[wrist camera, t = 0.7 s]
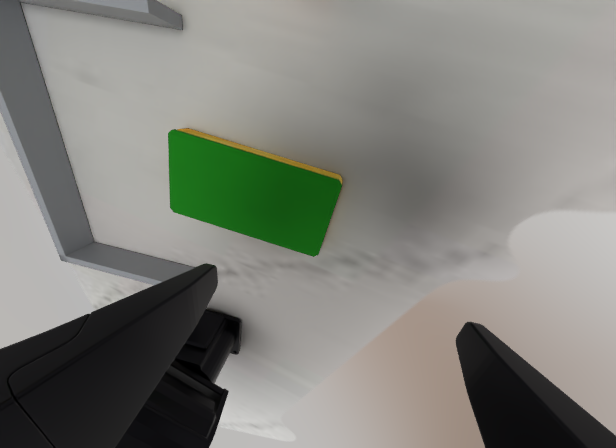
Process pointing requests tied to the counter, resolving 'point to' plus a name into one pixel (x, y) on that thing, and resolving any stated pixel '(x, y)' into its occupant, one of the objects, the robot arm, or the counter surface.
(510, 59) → the counter surface
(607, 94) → the counter surface
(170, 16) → the frame
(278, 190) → the dish sponge
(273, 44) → the counter surface
